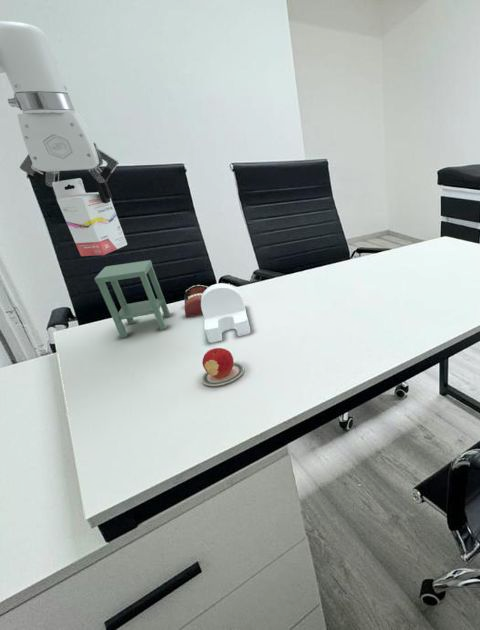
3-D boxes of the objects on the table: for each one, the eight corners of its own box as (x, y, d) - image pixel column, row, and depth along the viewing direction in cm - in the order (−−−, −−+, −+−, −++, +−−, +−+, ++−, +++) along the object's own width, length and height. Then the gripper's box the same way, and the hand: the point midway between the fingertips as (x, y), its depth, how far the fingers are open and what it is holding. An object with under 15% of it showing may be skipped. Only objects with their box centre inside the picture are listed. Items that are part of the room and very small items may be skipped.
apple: (248, 377, 79) (240, 350, 76) (205, 392, 75) (195, 364, 72) (239, 360, 85) (231, 335, 82) (199, 374, 81) (189, 347, 78)
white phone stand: (208, 343, 92) (195, 302, 88) (208, 315, 107) (196, 278, 102) (251, 333, 96) (240, 293, 91) (245, 307, 111) (235, 271, 106)
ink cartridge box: (105, 255, 80) (75, 181, 74) (80, 257, 80) (47, 182, 73) (129, 244, 88) (103, 176, 81) (106, 245, 88) (78, 177, 81)
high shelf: (120, 338, 97) (94, 278, 90) (128, 322, 105) (105, 266, 98) (166, 329, 100) (144, 271, 93) (170, 314, 109) (150, 260, 102)
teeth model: (178, 298, 102) (180, 284, 112) (185, 319, 105) (186, 304, 115) (213, 292, 106) (212, 279, 116) (219, 313, 108) (217, 299, 118)
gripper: (-26, 104, 66) (26, 212, 74) (96, 103, 72) (132, 202, 79) (-3, 107, 72) (42, 205, 80) (108, 105, 78) (139, 197, 86)
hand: (86, 203), depth 80 cm, fingers closed on ink cartridge box, 6 cm apart
